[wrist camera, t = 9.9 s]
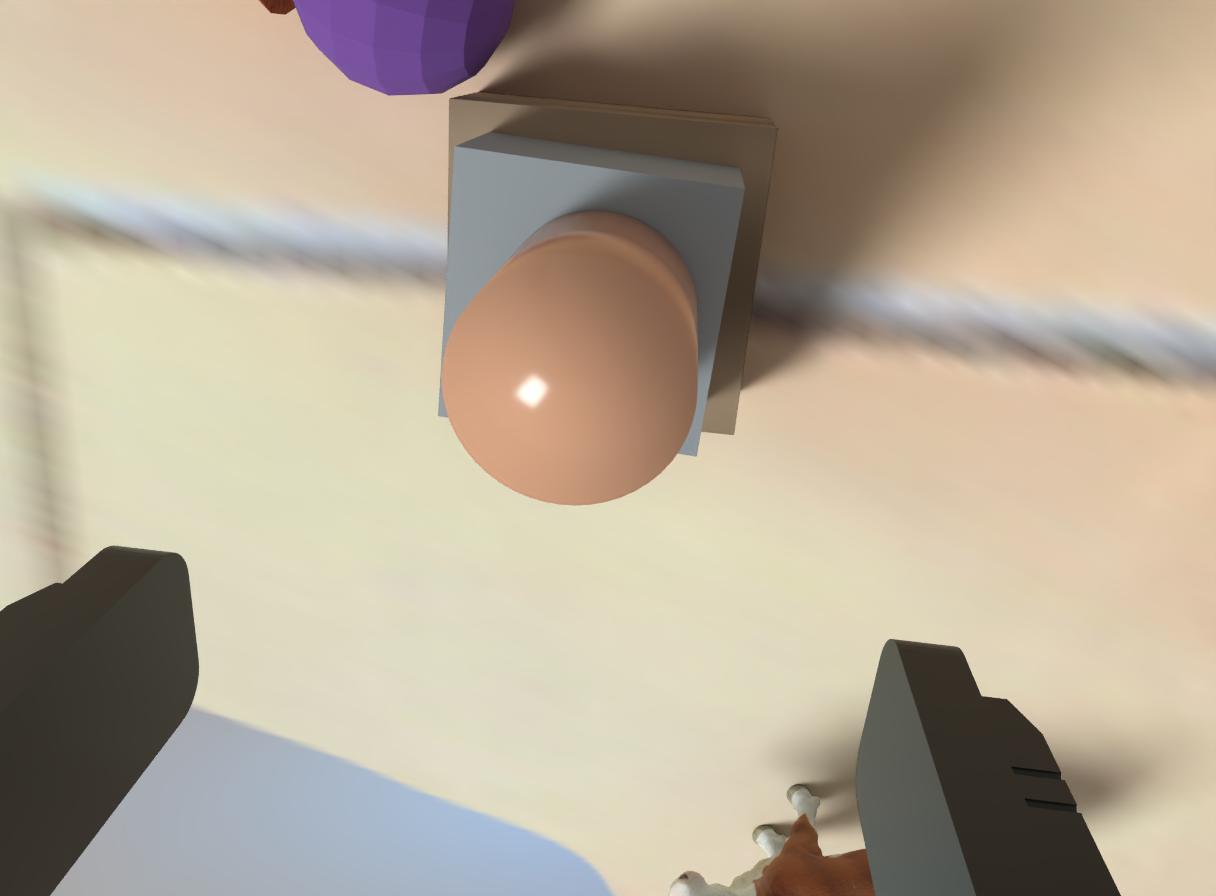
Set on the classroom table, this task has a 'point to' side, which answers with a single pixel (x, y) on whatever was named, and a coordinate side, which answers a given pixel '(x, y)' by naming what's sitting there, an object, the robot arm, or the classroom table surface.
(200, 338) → the classroom table surface
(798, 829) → the bull figurine
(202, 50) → the classroom table surface
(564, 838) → the classroom table surface
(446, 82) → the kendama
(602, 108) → the bottom block
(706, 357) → the top block
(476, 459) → the terracotta cylinder
